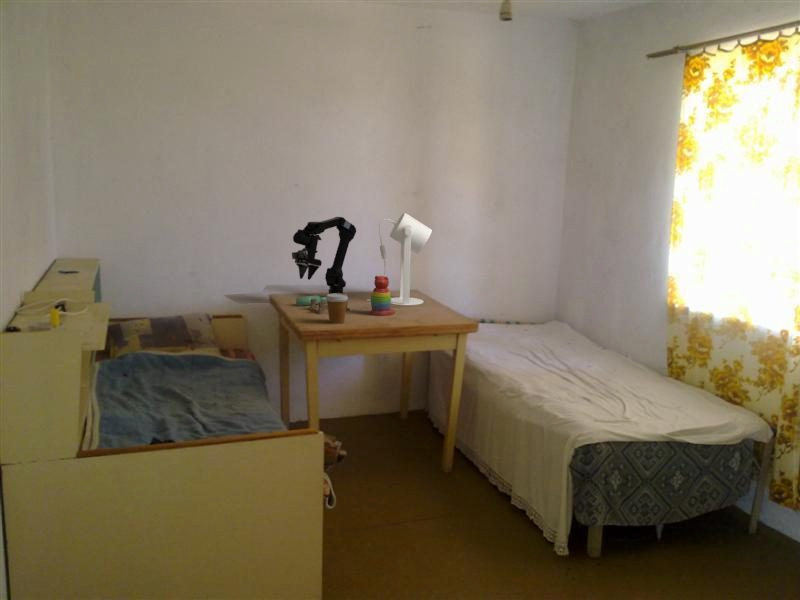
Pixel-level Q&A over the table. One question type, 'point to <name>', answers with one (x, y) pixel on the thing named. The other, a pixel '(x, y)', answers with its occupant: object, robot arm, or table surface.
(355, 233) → the robot arm
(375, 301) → the stacking bear
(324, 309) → the cradle
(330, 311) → the disposable coffee cup
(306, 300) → the bottle
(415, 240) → the desk lamp
